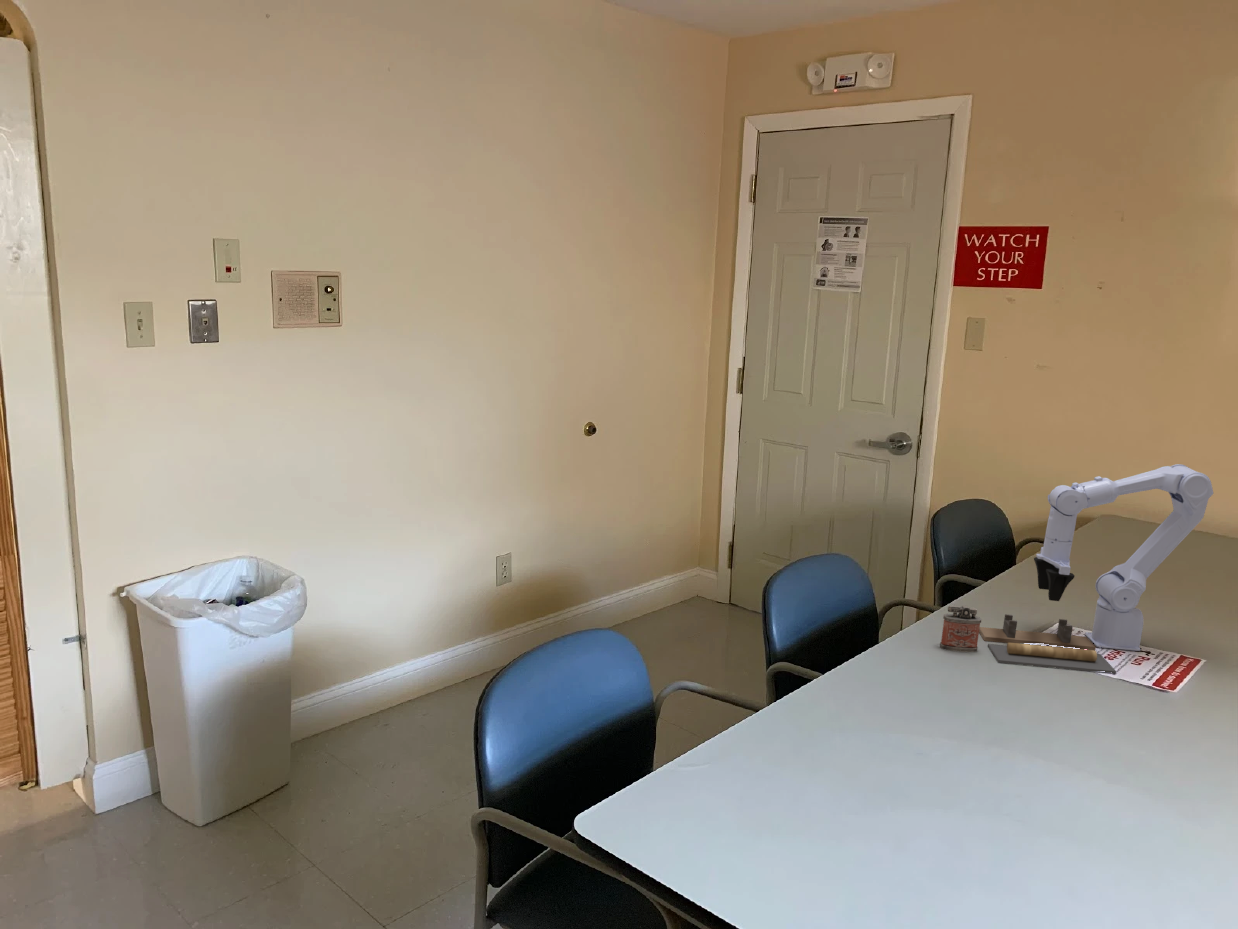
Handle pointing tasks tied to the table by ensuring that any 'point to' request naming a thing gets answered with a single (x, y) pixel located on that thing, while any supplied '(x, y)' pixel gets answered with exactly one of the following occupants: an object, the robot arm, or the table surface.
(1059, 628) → the hook stand
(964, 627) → the lighter
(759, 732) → the table surface
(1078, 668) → the mat
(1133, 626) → the robot arm
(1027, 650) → the rail
